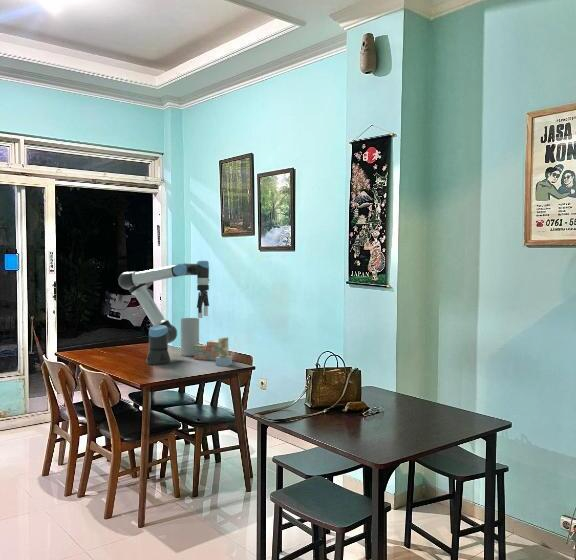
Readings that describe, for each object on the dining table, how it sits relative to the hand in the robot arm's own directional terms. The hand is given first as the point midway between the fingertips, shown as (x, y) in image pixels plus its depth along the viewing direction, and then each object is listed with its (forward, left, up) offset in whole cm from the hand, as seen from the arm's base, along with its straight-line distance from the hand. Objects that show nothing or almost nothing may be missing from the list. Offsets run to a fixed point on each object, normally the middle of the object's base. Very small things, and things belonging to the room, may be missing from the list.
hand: (203, 316), depth 377 cm
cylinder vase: (-15, +21, -29) cm, 39 cm away
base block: (+17, -11, -29) cm, 35 cm away
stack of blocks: (+4, +6, -29) cm, 30 cm away
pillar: (+17, -12, -24) cm, 31 cm away
